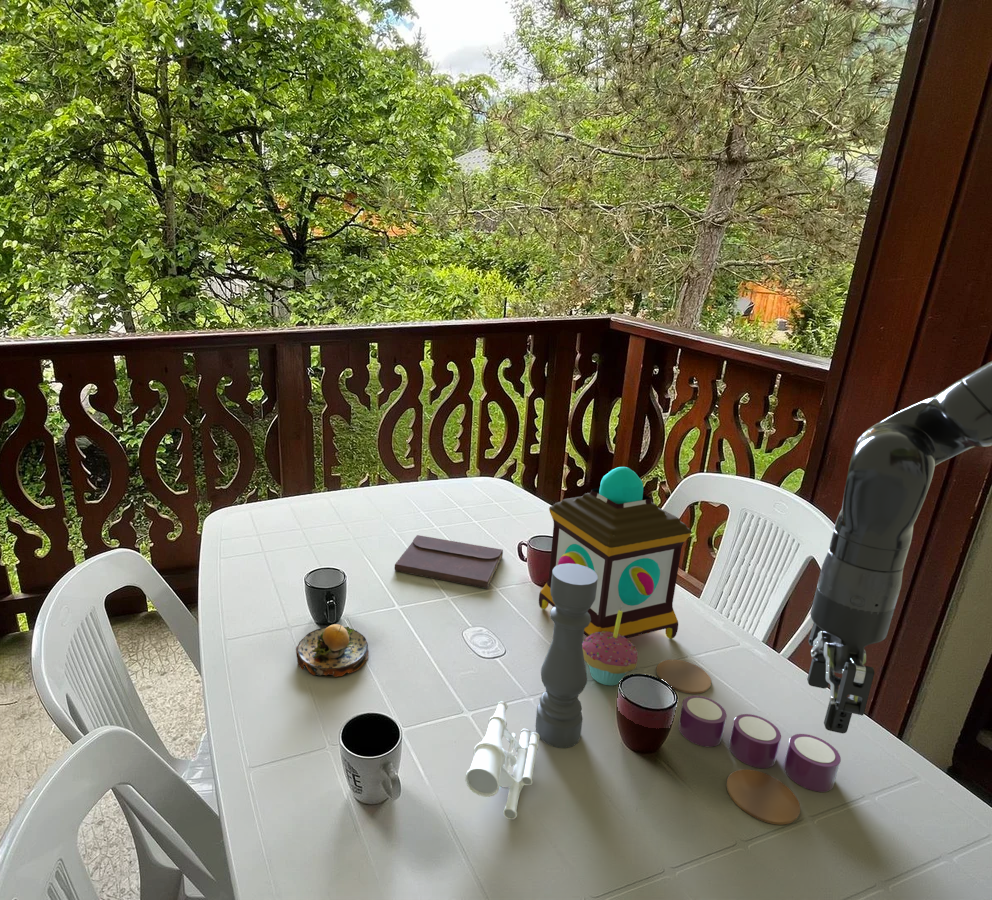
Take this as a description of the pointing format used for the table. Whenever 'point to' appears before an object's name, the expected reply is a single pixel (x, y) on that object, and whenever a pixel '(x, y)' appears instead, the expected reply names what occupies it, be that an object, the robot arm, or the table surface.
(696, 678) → the far coaster
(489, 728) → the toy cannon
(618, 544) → the decorative lantern
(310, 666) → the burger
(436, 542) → the brown flap folio case
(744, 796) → the near coaster
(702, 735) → the purple cream-topped cylinder
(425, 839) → the table surface
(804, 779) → the purple short cylinder
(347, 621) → the table surface
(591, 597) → the candle holder
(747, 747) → the middle dish
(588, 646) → the cupcake
